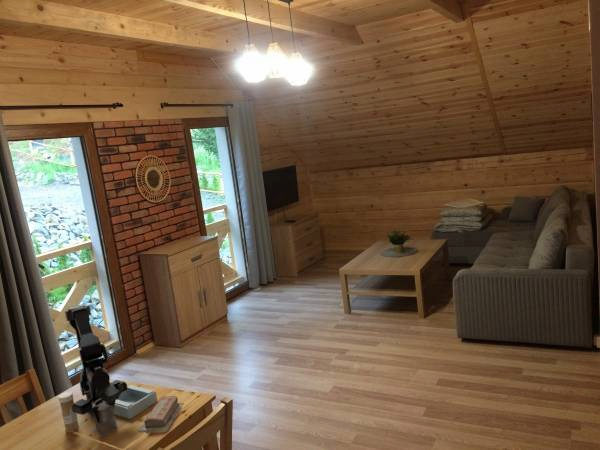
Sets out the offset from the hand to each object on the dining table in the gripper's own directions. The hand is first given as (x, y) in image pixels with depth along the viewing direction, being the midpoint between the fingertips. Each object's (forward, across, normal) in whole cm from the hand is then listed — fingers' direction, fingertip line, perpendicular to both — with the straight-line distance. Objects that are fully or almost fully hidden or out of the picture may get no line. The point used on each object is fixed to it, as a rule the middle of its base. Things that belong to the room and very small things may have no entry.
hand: (104, 419), depth 182 cm
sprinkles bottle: (+4, -5, +12) cm, 14 cm away
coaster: (+4, 0, 0) cm, 4 cm away
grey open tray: (+4, +14, +4) cm, 15 cm away
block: (+3, 0, 0) cm, 3 cm away
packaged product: (+5, +13, -14) cm, 19 cm away
